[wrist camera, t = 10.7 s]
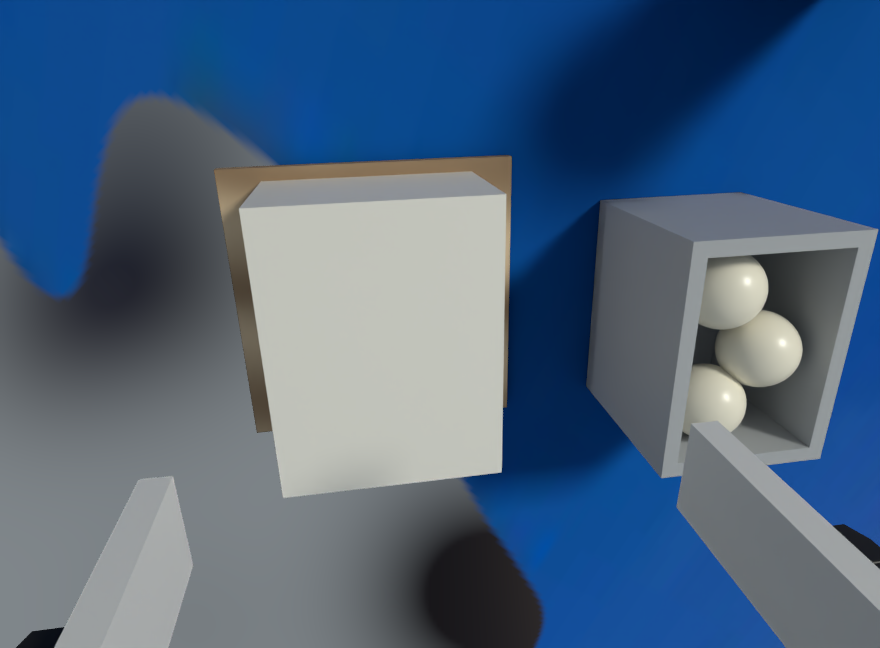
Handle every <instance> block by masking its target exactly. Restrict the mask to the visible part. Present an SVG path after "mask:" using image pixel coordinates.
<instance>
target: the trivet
mask: <svg viewBox="0 0 880 648" xmlns="http://www.w3.org/2000/svg"><path fill="white" fill-rule="evenodd" d="M511 167H512V156H509V155H500V156H478V157H455V158H433V159H410V160H388V161H365V162H343V163H320V164H298V165H275V166H256V167H255V166H253V167H232V168H216V169H214V174H215V179H216V186H217V191H218V198H219V204H220V210H221V217H222V223H223V229H224V234H225V241H226V247H227V252H228V259H229V265H230V271H231V277H232V284H233V290H234V296H235V302H236V307H237V314H238V320H239V326H240V331H241V338H242V344H243V350H244V356H245V363H246V369H247V375H248V381H249V386H250V393H251V399H252V405H253V411H254V417H255V424H256V430H257V433H258V432H268V431H273V430H272V423H271V416H270V410H269V403H268V397H267V390H266V384H265V377H264V371H263V364H262V357H261V351H260V344H259V338H258V331H257V325H256V318H255V311H254V305H253V298H252V292H251V285H250V279H249V272H248V266H247V259H246V252H245V246H244V239H243V233H242V226H241V220H240V213H239V208H240V206H241V205H242V204H243V203H244V202H245V200H246V199H247V198H248V197H249V195H250V194H251V193H252V192H253V190H254V189H255V188H256V187H257V186H258V184H259V183H260V182H261V181H280V180H301V179H322V178H343V177H364V176H385V175H406V174H427V173H448V172H469V171H472V172H473V173H475V174H476V175H478V176H480V177H481V178H483V179H484V180H486V181H487V182H489V183H490V184H492V185H493V186H495V187H496V188H498V189H499V190H501V191H502V192H504V193H505V194H506V250H505V309H504V369H503V407H507V372H508V321H509V270H510V219H511Z"/></svg>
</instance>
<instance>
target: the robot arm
mask: <svg viewBox="0 0 880 648" xmlns="http://www.w3.org/2000/svg"><path fill="white" fill-rule="evenodd" d="M677 508H678V509H679V511H680V512H681V513H682V515H683V516H684V517H685V518H686V520H687V521H688V522H689V524H690V525H691V526H692V527H693V529H694V530H695V531H696V533H697V534H698V535H699V536H700V538H701V539H702V540H703V542H704V543H705V544H706V545H707V547H708V548H709V549H710V551H711V552H712V553H713V554H714V556H715V557H716V558H717V560H718V561H719V562H720V563H721V565H722V566H723V567H724V569H725V570H726V571H727V572H728V574H729V575H730V576H731V577H732V579H733V580H734V581H735V583H736V584H737V585H738V586H739V588H740V589H741V590H742V592H743V593H744V594H745V595H746V597H747V598H748V599H749V601H750V602H751V603H752V604H753V606H754V607H755V608H756V610H757V611H758V612H759V613H760V615H761V616H762V617H763V619H764V620H765V621H766V622H767V624H768V625H769V626H770V628H771V629H772V630H773V631H774V633H775V634H776V635H777V637H778V638H779V639H780V640H781V642H782V643H783V644H784V646H785V647H786V648H880V547H879V546H878V545H877V544H875V543H874V542H873V541H872V540H871V539H869V538H867V537H866V536H864V535H862V534H860V533H858V532H857V531H855V530H853V529H851V528H850V527H848V526H846V525H844V524H842V525H834V526H832V525H831V524H830V523H829V522H828V521H827V520H825V519H824V518H823V517H822V516H821V515H820V514H819V513H818V512H817V511H816V510H815V509H813V508H812V507H811V506H810V505H809V504H808V503H807V502H806V501H805V500H804V499H803V498H801V497H800V496H799V495H798V494H797V493H796V492H795V491H794V490H793V489H792V488H791V487H789V486H788V485H787V484H786V483H785V482H784V481H783V480H782V479H781V478H780V477H778V476H777V475H776V474H775V473H774V472H773V471H772V470H771V469H770V468H769V467H768V466H766V465H765V464H764V463H763V462H762V461H761V460H760V459H759V458H758V457H757V456H756V455H754V454H753V453H752V452H751V451H750V450H749V449H748V448H747V447H746V446H745V445H744V444H742V443H741V442H740V441H739V440H738V439H737V438H736V437H735V436H734V435H733V434H732V433H730V432H729V431H728V430H727V429H726V428H725V427H724V426H723V425H722V424H721V423H720V422H718V421H712V422H702V423H693V424H691V427H690V433H689V439H688V445H687V450H686V456H685V462H684V468H683V473H682V479H681V485H680V491H679V496H678V502H677ZM192 568H193V562H192V558H191V553H190V549H189V544H188V540H187V536H186V531H185V527H184V522H183V518H182V514H181V509H180V505H179V500H178V496H177V492H176V487H175V483H174V478H173V476H167V477H157V478H147V479H139V480H138V482H137V484H136V486H135V488H134V490H133V492H132V494H131V496H130V498H129V500H128V502H127V504H126V506H125V508H124V510H123V512H122V514H121V516H120V518H119V520H118V522H117V524H116V526H115V527H114V530H113V531H112V533H111V536H110V538H109V539H108V541H107V544H106V545H105V548H104V549H103V552H102V553H101V555H100V557H99V559H98V561H97V563H96V565H95V567H94V569H93V571H92V573H91V575H90V577H89V579H88V581H87V584H86V585H85V587H84V590H83V591H82V593H81V595H80V598H79V600H78V601H77V603H76V605H75V607H74V609H73V611H72V613H71V615H70V617H69V619H68V621H67V623H66V625H65V627H63V628H55V629H47V630H40V631H32V632H31V633H30V634H29V635H28V636H27V637H26V638H25V639H24V640H23V641H22V642H21V643H20V644H19V645H18V646H17V647H16V648H168V647H169V644H170V640H171V637H172V634H173V631H174V628H175V624H176V621H177V618H178V614H179V611H180V608H181V604H182V601H183V597H184V594H185V591H186V588H187V584H188V581H189V578H190V575H191V571H192Z"/></svg>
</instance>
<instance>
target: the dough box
mask: <svg viewBox="0 0 880 648" xmlns="http://www.w3.org/2000/svg"><path fill="white" fill-rule="evenodd" d="M877 233H878V229H875V228H871V227H868V226H864V225H860V224H856V223H853V222H849V221H845V220H842V219H838V218H834V217H830V216H827V215H823V214H819V213H816V212H812V211H808V210H804V209H801V208H797V207H793V206H790V205H786V204H782V203H779V202H775V201H771V200H767V199H764V198H760V197H756V196H753V195H749V194H745V193H741V192H738V193H720V194H703V195H685V196H667V197H649V198H631V199H614V200H600V212H599V225H598V238H597V252H596V265H595V278H594V291H593V304H592V317H591V331H590V344H589V357H588V370H587V383H586V387H587V388H588V389H589V390H590V391H591V393H592V394H593V395H594V396H595V398H596V399H597V400H598V401H599V402H600V404H601V405H602V406H603V407H604V409H605V410H606V411H607V412H608V414H609V415H610V416H611V417H612V418H613V420H614V421H615V422H616V423H617V425H618V426H619V427H620V428H621V429H622V431H623V432H624V433H625V434H626V436H627V437H628V438H629V439H630V440H631V442H632V443H633V444H634V445H635V447H636V448H637V449H638V450H639V451H640V453H641V454H642V455H643V456H644V458H645V459H646V460H647V461H648V462H649V464H650V465H651V466H652V467H653V469H654V470H655V471H656V472H657V474H658V475H659V476H660V477H661V478H666V477H674V476H682V473H683V468H684V462H685V456H686V450H687V445H688V439H689V433H690V427H691V424H693V423H702V422H712V421H718V422H720V423H721V424H722V425H723V426H724V427H725V428H726V429H727V430H728V431H729V432H730V433H732V434H733V435H734V436H735V437H736V438H737V439H738V440H739V441H740V442H741V443H742V444H744V445H745V446H746V447H747V448H748V449H749V450H750V451H751V452H752V453H753V454H754V455H756V456H757V457H758V458H759V459H760V460H761V461H762V462H763V463H764V464H765V465H771V464H780V463H788V462H796V461H804V460H812V459H820V456H821V452H822V448H823V444H824V440H825V436H826V432H827V429H828V425H829V421H830V417H831V413H832V409H833V405H834V401H835V397H836V393H837V389H838V385H839V382H840V378H841V374H842V370H843V366H844V362H845V358H846V354H847V350H848V346H849V342H850V338H851V335H852V331H853V327H854V323H855V319H856V315H857V311H858V307H859V303H860V299H861V295H862V292H863V288H864V284H865V280H866V276H867V272H868V268H869V264H870V260H871V256H872V252H873V248H874V245H875V241H876V237H877Z"/></svg>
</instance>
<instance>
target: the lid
mask: <svg viewBox="0 0 880 648" xmlns="http://www.w3.org/2000/svg"><path fill="white" fill-rule="evenodd" d="M239 213H240V220H241V226H242V233H243V239H244V246H245V252H246V259H247V266H248V272H249V279H250V285H251V292H252V298H253V305H254V311H255V318H256V325H257V331H258V338H259V344H260V351H261V357H262V364H263V371H264V377H265V384H266V390H267V397H268V403H269V410H270V416H271V423H272V430H273V436H274V443H275V449H276V456H277V462H278V469H279V475H280V482H281V489H282V494H283V498H288V497H296V496H305V495H313V494H322V493H331V492H338V491H348V490H356V489H365V488H373V487H381V486H390V485H398V484H407V483H416V482H424V481H433V480H441V479H450V478H458V477H467V476H476V475H484V474H493V473H501V472H502V429H503V369H504V309H505V250H506V194H505V193H504V192H502V191H501V190H499V189H498V188H496V187H495V186H493V185H492V184H490V183H489V182H487V181H486V180H484V179H483V178H481V177H480V176H478V175H476V174H475V173H473V172H472V171H469V172H448V173H427V174H406V175H385V176H364V177H343V178H322V179H301V180H280V181H261V182H260V183H259V184H258V186H257V187H256V188H255V189H254V190H253V192H252V193H251V194H250V195H249V197H248V198H247V199H246V200H245V202H244V203H243V204H242V205H241V206H240V208H239Z"/></svg>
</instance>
